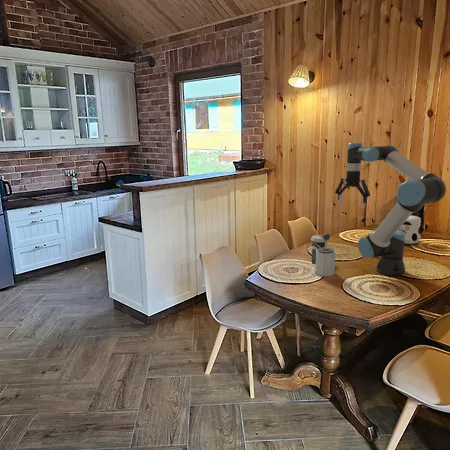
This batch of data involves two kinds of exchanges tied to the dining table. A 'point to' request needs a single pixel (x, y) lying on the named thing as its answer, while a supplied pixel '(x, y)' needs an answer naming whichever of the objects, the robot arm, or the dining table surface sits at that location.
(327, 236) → the plunger
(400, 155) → the robot arm
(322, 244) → the coffee cup
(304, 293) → the dining table surface
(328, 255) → the carafe
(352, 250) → the dining table surface
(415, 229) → the milk container
